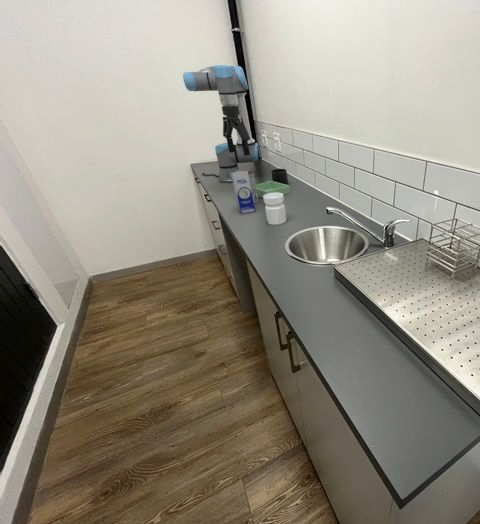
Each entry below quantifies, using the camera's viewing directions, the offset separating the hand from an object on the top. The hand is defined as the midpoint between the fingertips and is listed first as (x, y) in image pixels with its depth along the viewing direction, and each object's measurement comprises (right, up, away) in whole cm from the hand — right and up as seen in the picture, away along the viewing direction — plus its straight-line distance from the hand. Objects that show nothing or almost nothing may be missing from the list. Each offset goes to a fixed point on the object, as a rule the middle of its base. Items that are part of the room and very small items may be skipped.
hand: (239, 153), depth 146 cm
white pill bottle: (+22, -35, -12) cm, 43 cm away
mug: (+11, -4, +42) cm, 44 cm away
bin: (+8, -14, +25) cm, 30 cm away
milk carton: (+4, -29, +1) cm, 29 cm away
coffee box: (0, -22, +12) cm, 25 cm away
